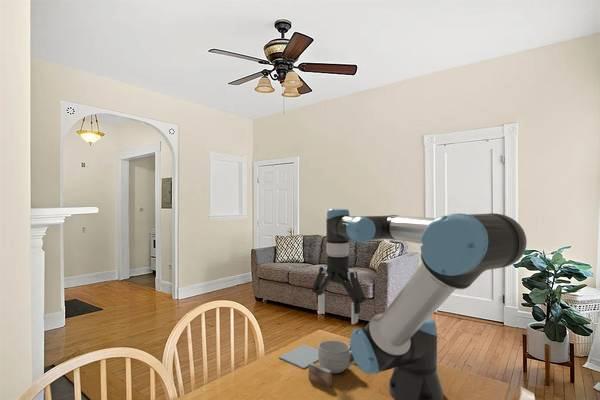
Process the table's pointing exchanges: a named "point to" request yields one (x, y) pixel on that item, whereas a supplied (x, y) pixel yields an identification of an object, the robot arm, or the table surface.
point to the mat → (301, 356)
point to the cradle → (322, 373)
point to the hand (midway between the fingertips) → (337, 318)
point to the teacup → (334, 355)
